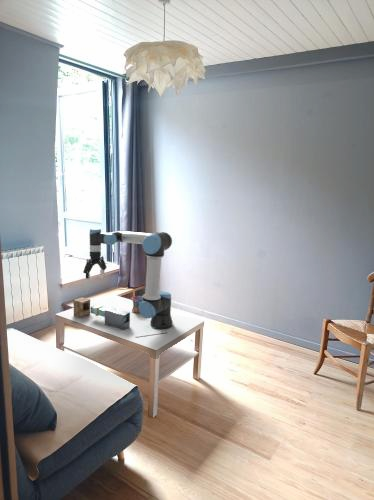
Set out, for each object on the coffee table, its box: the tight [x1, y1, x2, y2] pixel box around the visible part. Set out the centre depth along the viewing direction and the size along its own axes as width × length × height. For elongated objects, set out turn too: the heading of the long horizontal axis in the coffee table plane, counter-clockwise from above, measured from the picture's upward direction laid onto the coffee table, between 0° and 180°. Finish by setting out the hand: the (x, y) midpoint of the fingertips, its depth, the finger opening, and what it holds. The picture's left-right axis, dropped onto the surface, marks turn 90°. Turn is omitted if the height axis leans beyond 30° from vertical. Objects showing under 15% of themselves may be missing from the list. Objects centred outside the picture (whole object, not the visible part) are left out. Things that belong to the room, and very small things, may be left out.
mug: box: [131, 295, 143, 314], centre depth 276 cm, size 12×9×11 cm
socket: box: [73, 297, 91, 319], centre depth 263 cm, size 8×8×12 cm
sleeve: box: [104, 306, 131, 331], centre depth 247 cm, size 16×7×10 cm, turn 60°
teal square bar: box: [90, 304, 127, 321], centre depth 251 cm, size 28×6×6 cm, turn 60°
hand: (95, 280), depth 259 cm, fingers open, 13 cm apart
